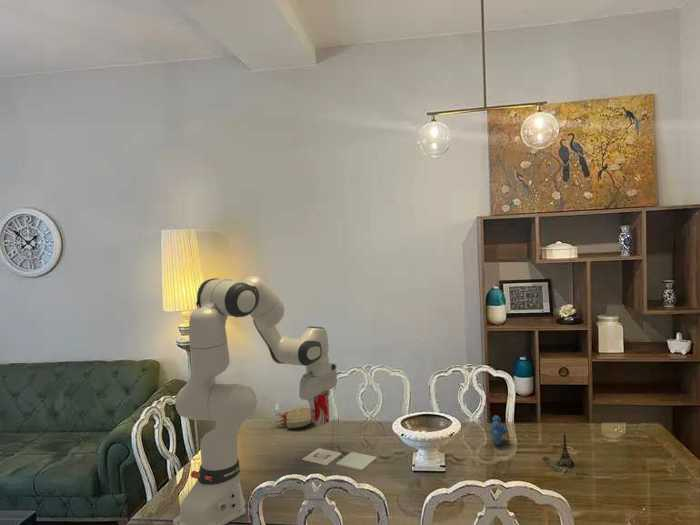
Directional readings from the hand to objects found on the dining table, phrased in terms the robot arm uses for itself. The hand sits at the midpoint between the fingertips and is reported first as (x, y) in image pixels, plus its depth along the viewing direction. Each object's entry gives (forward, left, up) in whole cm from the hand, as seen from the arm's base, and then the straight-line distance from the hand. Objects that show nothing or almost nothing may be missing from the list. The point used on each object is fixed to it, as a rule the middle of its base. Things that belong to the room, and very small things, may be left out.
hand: (319, 405), depth 191 cm
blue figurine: (+38, -57, -20) cm, 72 cm away
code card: (0, 0, -20) cm, 20 cm away
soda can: (0, 0, -7) cm, 7 cm away
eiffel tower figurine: (+31, -81, -21) cm, 89 cm away
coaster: (+2, -14, -20) cm, 25 cm away
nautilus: (+22, +30, -20) cm, 42 cm away
